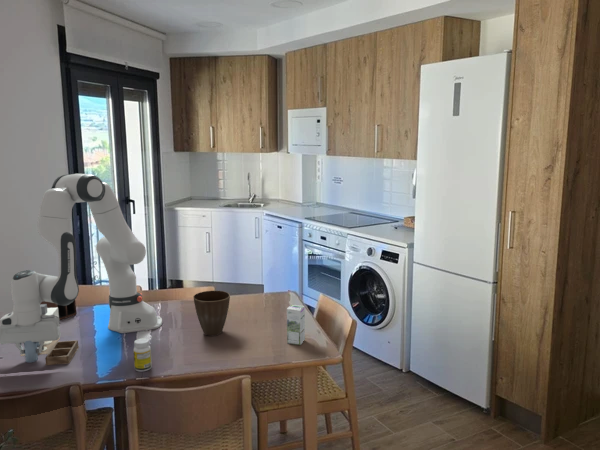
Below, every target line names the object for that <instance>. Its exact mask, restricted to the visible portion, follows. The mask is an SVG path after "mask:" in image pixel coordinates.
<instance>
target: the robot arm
mask: <svg viewBox="0 0 600 450" xmlns="http://www.w3.org/2000/svg"><path fill="white" fill-rule="evenodd" d="M76 203H87V204H88V206H89V209H90V212H91V215H92V218H93V220H94V222H95V225H96V227H97V229H98V231H99V233H101V235H103V236H102V237H101V238H99V240H98V241H97V243H96V246H95V248H96V253H97V255H99V257H100V258H101V260H102V263H103V265H104V267H105V271H106V274H107V277H108V278H107V279H108V286H109V290H108V291H109V295H108V306H109V309H110V311H109V319H108V320H109V321H108V325H107V329H108V330H110V331H113V332H117V333H119V334H126V333H127V334H128V333H134V332H140V331H141V332H143V331H148V330H157V329H159V328H160V327H161V326H162V324H163V318H162V317H160V316H158V314H157V311H156V309H155V307H154V306H152V305H150V304H148V303H147V302H145V301H144V300H143V294H142V292H138V289H137V288H138V285H137V275H136V274H135V272H134V271H133V268H132V267H131V265H138V264H140V263H142V262H143V261H144V259H145V258H146V254H147V249H146V247H145V245H144V244H143V243H142V242H141V241H140V240H139V239H138V237H136V235H135V233H134V232H133V231H132V229H131V228H130V226H129V225H128V223H127V221H126V219H125V216H124V215H123V211H122V208H121V206H120V204H119V201H118V199H117V197H116V194H115V192H114V191H113V189H112V187H111V185H110V184H108V183H107V182H104V181H102V179H100V177H98V176H97V175H94V174H92V173H87V174H86V173H72V174H63V175H59V176H58V177H57V178H56V179H55V180H54V182H53V183H52V186H51V188H49V189H47V190H46V191H45V192H44V193H43V196H42V199H41V201H40V206H39V211H38V217H37V231H38V234H39V236H40V237H41V238H42V239H43V240H44V241H46V242H47V243H49V244H50V245H52V247H54V249H55V250H56V251H57V255H58V276H56V275H50V274H43V273H39V272H36V271H35V270H34V269H33V270H31V269H25V270H22V271H21V270H20V271H19V272H16V273H15V274H14V275H13V276H12V279H11V284H10V291H11V300H12V302H13V307H12V312H9V313H6V314H4V315H3V316H1V318H0V345H10V344H15V347H16V348H17V350H18V351H19V354H20V355H21V354H25V348H24V347H23V346H22V344H24V343H25V342H26V341H32V342H39V344H41V345H40V347H37V348H36V351H37V352H36V353H41V352H42V346H43V344H44V342H45V341H55V340H58V339H59V338H61V334H62V333H61V328H60V324H61V320H59V318H58V317H57V316H55V315H42V313H41V305H40V303H41V302H43V301H46V302H51V303H55V304H58V305H62V306H66V305H69V304H71V303H72V302H73V301H74V300H75V301H76V299H77V297H78V295H79V292H80V287H79V281H78V276H77V275H78V274H77V244H76V239H75V237H74V235H73V233H72V223H71V222H72V212H73V211H72V209H73V207H74V206H75V204H76ZM59 340H60V339H59ZM59 340H58V341H59Z"/></svg>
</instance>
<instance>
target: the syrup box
mask: <svg viewBox="0 0 600 450" xmlns="http://www.w3.org/2000/svg"><path fill="white" fill-rule="evenodd" d="M305 308H306V306H305V305H297V304H290V305H289V306H288V307H287V308H286V343H287V345H288V344H290V345H297V346H301V345H302V344H303V343H304V342H305V341H304V340H306V338H305V337H306V334H305V331H306V330H305V326H306V325H305V323H306V322H305V314H306V313H305V310H306V309H305ZM303 341H304V342H303Z"/></svg>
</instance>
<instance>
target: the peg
mask: <svg viewBox="0 0 600 450" xmlns="http://www.w3.org/2000/svg"><path fill="white" fill-rule="evenodd" d="M23 346H24V347H23V348H25V356H24V357H25V358H24V359H25V363H35V362H37V361H38V360H39V355H38V353H36V352H37V351H36V348H37V342H32V341H26V342H25V343H23Z"/></svg>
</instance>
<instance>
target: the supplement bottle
mask: <svg viewBox="0 0 600 450" xmlns="http://www.w3.org/2000/svg"><path fill="white" fill-rule="evenodd" d="M133 345H134V347H133V361H134V362H133V364H134V370H135V371H136V372H147V371H149V370H151V369H152V353H151V352H152V349H151V346H150V339H148V338H138V339H135V340H134V344H133Z"/></svg>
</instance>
